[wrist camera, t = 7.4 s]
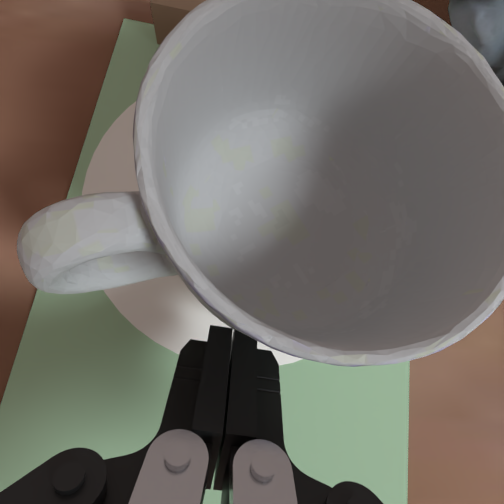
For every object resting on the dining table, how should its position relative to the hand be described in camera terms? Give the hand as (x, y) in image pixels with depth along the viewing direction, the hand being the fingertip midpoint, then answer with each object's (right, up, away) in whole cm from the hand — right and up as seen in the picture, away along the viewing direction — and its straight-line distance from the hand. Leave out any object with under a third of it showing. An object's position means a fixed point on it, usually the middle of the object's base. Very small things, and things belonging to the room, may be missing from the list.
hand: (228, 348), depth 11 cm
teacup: (+1, +3, +5) cm, 6 cm away
